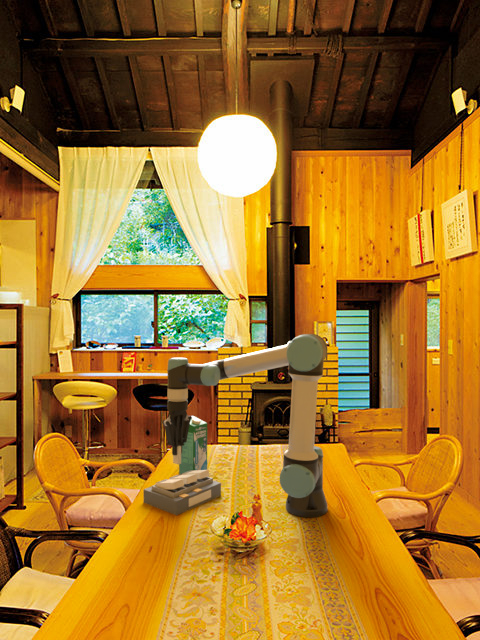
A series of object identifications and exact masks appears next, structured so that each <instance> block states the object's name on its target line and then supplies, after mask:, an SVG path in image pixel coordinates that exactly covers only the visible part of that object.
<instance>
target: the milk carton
mask: <svg viewBox="0 0 480 640" xmlns="http://www.w3.org/2000/svg"><path fill="white" fill-rule="evenodd" d="M190 416H191V417H192V419H191V421H190V425H189V430H188V436H187V442H186V443H184V444H185V445H184V446H182V454H181V464H178V466H179V467H178V475H182V474H183V473H184V472H187V471H190V470H208V422H206V421H204V420H202V419H200V418H199V417H197V416H196V415H195V416H194V415H190ZM183 439H184V438H183Z"/></svg>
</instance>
